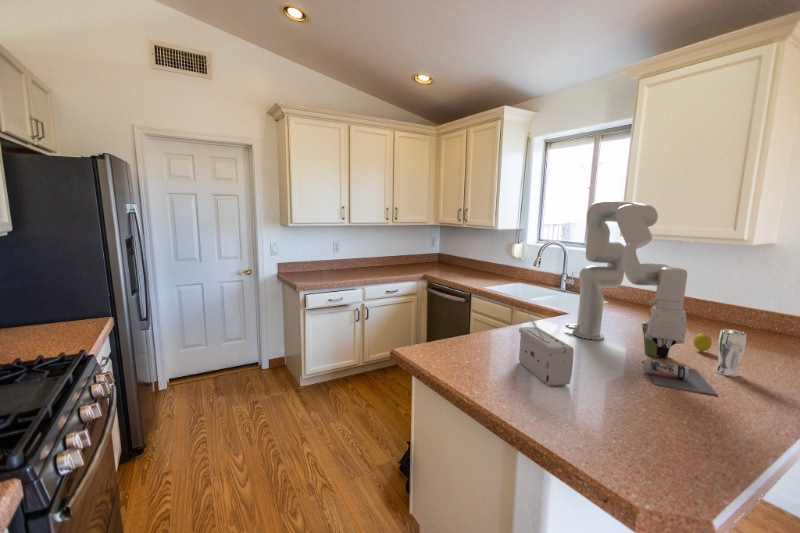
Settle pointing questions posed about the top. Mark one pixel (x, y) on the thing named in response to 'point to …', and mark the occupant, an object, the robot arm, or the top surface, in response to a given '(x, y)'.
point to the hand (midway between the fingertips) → (661, 357)
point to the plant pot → (650, 343)
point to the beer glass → (730, 351)
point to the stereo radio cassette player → (545, 356)
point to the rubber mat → (685, 383)
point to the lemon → (702, 342)
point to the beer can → (665, 369)
